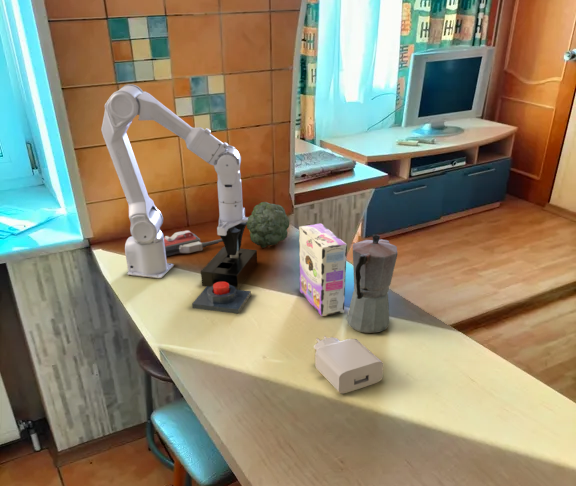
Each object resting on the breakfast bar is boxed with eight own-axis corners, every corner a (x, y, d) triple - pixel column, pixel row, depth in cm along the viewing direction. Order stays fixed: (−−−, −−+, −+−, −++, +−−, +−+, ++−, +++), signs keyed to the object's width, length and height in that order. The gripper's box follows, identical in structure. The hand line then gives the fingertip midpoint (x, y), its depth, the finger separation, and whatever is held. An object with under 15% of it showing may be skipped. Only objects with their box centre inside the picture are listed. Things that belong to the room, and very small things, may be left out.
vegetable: (279, 220, 174) (304, 212, 161) (263, 259, 172) (286, 254, 158) (245, 200, 169) (267, 189, 156) (227, 239, 167) (249, 232, 153)
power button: (211, 294, 133) (210, 287, 132) (217, 287, 136) (216, 280, 135) (226, 296, 132) (225, 289, 132) (231, 289, 135) (231, 282, 134)
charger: (340, 342, 120) (382, 381, 108) (300, 354, 116) (338, 395, 105) (341, 322, 117) (384, 359, 106) (299, 333, 114) (339, 373, 102)
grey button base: (192, 308, 133) (191, 296, 132) (207, 290, 141) (206, 279, 139) (238, 314, 131) (237, 302, 129) (251, 295, 138) (250, 284, 137)
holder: (202, 286, 143) (200, 271, 141) (224, 260, 155) (223, 246, 153) (238, 290, 140) (237, 275, 138) (257, 264, 153) (256, 249, 151)
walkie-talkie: (161, 261, 155) (228, 245, 164) (159, 246, 153) (227, 230, 162) (149, 250, 162) (215, 235, 171) (147, 235, 160) (213, 220, 169)
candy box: (345, 313, 130) (348, 243, 122) (320, 317, 129) (322, 248, 120) (321, 286, 142) (322, 221, 133) (298, 290, 140) (298, 225, 132)
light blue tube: (228, 262, 149) (226, 228, 144) (231, 258, 151) (229, 225, 146) (237, 263, 148) (235, 229, 144) (240, 259, 150) (238, 226, 146)
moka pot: (399, 313, 130) (407, 227, 120) (378, 347, 118) (385, 256, 108) (358, 304, 133) (363, 221, 123) (334, 337, 121) (336, 248, 111)
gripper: (236, 211, 134) (239, 265, 141) (255, 191, 146) (257, 242, 153) (207, 208, 136) (211, 262, 143) (228, 189, 148) (231, 240, 155)
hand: (233, 252), depth 148 cm, fingers closed on light blue tube, 2 cm apart
